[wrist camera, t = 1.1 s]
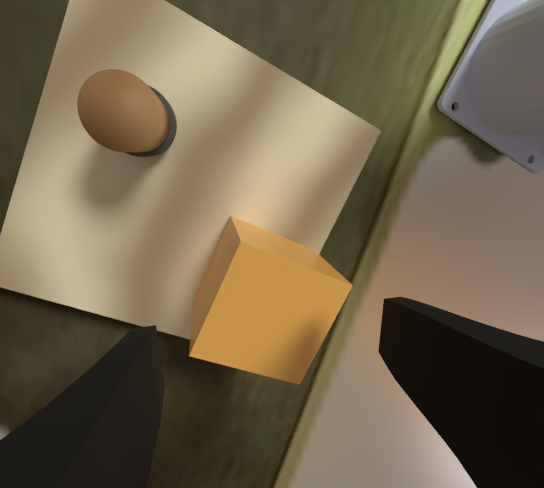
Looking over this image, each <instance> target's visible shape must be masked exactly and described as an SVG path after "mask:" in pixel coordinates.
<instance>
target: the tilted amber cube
mask: <svg viewBox="0 0 544 488" xmlns="http://www.w3.org/2000/svg"><path fill="white" fill-rule="evenodd" d="M352 286H353V285H352V284H351V283H350V282H349V281H347V280H346V279H345V278H344V277H343V276H342V275H341V274H340V273H339V272H338V271H336V270H335V269H334V268H333V267H332V266H331V265H330V264H329V263H328V262H327V261H325V260H324V259H323V258H322V257H321V256H320V255H319V254H318V253H317V252H316V251H314V250H313V249H310V248H308V247H305V246H303V245H301V244H298V243H296V242H293V241H291V240H289V239H286V238H284V237H281V236H279V235H277V234H274V233H272V232H269V231H267V230H265V229H262V228H260V227H257V226H255V225H253V224H250V223H248V222H246V221H243V220H241V219H238V218H236V217H234V216H230V218H229V220H228V223H227V225H226V227H225V229H224V232H223V234H222V236H221V239H220V241H219V243H218V245H217V248H216V250H215V252H214V255H213V257H212V259H211V261H210V264H209V266H208V268H207V271H206V273H205V275H204V277H203V280H202V282H201V284H200V287H199V289H198V291H197V293H196V296H195V298H194V301H193V314H192V326H191V338H190V351H189V356H190V357H194V358H198V359H202V360H206V361H210V362H214V363H218V364H221V365H225V366H229V367H233V368H237V369H241V370H245V371H249V372H252V373H256V374H260V375H264V376H268V377H272V378H276V379H279V380H283V381H287V382H291V383H295V384H299V385H300V383H301V381H302V379H303V377H304V376H305V374H306V372H307V370H308V368H309V366H310V364H311V363H312V361H313V359H314V357H315V355H316V353H317V351H318V350H319V348H320V346H321V344H322V342H323V340H324V338H325V337H326V335H327V333H328V331H329V329H330V327H331V325H332V324H333V322H334V320H335V318H336V316H337V314H338V312H339V311H340V309H341V307H342V305H343V303H344V301H345V299H346V298H347V296H348V294H349V292H350V290H351V288H352Z"/></svg>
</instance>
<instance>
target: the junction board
mask: <svg viewBox="0 0 544 488" xmlns="http://www.w3.org/2000/svg"><path fill="white" fill-rule="evenodd" d="M380 133H381V130H379V129H378V128H376V127H374V126H373V125H371V124H369V123H368V122H366V121H364V120H363V119H361V118H359V117H358V116H356V115H354V114H353V113H351V112H349V111H348V110H346V109H344V108H343V107H341V106H339V105H338V104H336V103H334V102H333V101H331V100H329V99H328V98H326V97H324V96H323V95H321V94H319V93H318V92H316V91H314V90H313V89H311V88H309V87H308V86H306V85H304V84H303V83H301V82H299V81H298V80H296V79H294V78H293V77H291V76H289V75H288V74H286V73H284V72H283V71H281V70H279V69H278V68H276V67H274V66H273V65H271V64H269V63H268V62H266V61H264V60H263V59H261V58H260V57H258V56H256V55H255V54H253V53H251V52H250V51H248V50H246V49H245V48H243V47H241V46H240V45H238V44H236V43H235V42H233V41H231V40H230V39H228V38H226V37H225V36H223V35H221V34H220V33H218V32H216V31H215V30H213V29H211V28H210V27H208V26H206V25H205V24H203V23H201V22H200V21H198V20H196V19H195V18H193V17H191V16H190V15H188V14H186V13H185V12H183V11H181V10H180V9H178V8H176V7H175V6H173V5H171V4H170V3H168V2H166V1H165V0H70V1H69V4H68V8H67V11H66V14H65V18H64V21H63V25H62V28H61V31H60V35H59V38H58V42H57V45H56V48H55V52H54V55H53V58H52V62H51V65H50V69H49V72H48V75H47V79H46V82H45V86H44V89H43V92H42V96H41V99H40V103H39V106H38V109H37V113H36V116H35V119H34V123H33V126H32V130H31V133H30V136H29V140H28V143H27V147H26V150H25V153H24V157H23V160H22V164H21V167H20V170H19V174H18V177H17V181H16V184H15V187H14V191H13V194H12V197H11V201H10V204H9V208H8V211H7V214H6V218H5V221H4V225H3V228H2V231H1V235H0V287H1V288H5V289H8V290H12V291H16V292H19V293H23V294H26V295H30V296H34V297H37V298H41V299H45V300H48V301H52V302H56V303H59V304H63V305H66V306H70V307H74V308H77V309H81V310H85V311H88V312H92V313H95V314H99V315H103V316H106V317H110V318H114V319H117V320H121V321H125V322H128V323H132V324H135V325H139V326H143V327H145V326H154V325H156V327H157V331H161V332H164V333H168V334H172V335H175V336H179V337H183V338H186V339H190V338H191V326H192V314H193V301H194V298H195V296H196V293H197V291H198V289H199V287H200V284H201V282H202V280H203V277H204V275H205V273H206V271H207V268H208V266H209V264H210V261H211V259H212V257H213V255H214V252H215V250H216V248H217V245H218V243H219V241H220V239H221V236H222V234H223V232H224V229H225V227H226V225H227V223H228V220H229V218H230V216H234V217H236V218H238V219H241V220H243V221H246V222H248V223H250V224H253V225H255V226H257V227H260V228H262V229H265V230H267V231H269V232H272V233H274V234H277V235H279V236H281V237H284V238H286V239H289V240H291V241H293V242H296V243H298V244H301V245H303V246H305V247H308V248H310V249H313V250H314V251H316V252H317V253H318V254H319V253H320V251H321V249H322V247H323V245H324V243H325V241H326V239H327V237H328V235H329V233H330V231H331V229H332V228H333V226H334V224H335V222H336V220H337V218H338V216H339V214H340V212H341V210H342V208H343V206H344V204H345V202H346V200H347V198H348V196H349V194H350V192H351V190H352V188H353V186H354V184H355V182H356V180H357V178H358V176H359V174H360V172H361V170H362V168H363V166H364V164H365V162H366V160H367V158H368V156H369V154H370V152H371V150H372V148H373V146H374V144H375V142H376V141H377V139H378V137H379V135H380Z"/></svg>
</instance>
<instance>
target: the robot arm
mask: <svg viewBox="0 0 544 488" xmlns="http://www.w3.org/2000/svg"><path fill="white" fill-rule="evenodd" d="M452 104H454V110H453V111H452V108H451V106H452ZM437 106H438V109H439V110H440V111H441V112H442V113H443V114H445V115H446V116H448V117H449V118H451V119H452V120H454V121H455V122H457V123H458V124H460V125H461V126H463V127H464V128H466V129H467V130H469V131H470V132H472V133H473V134H475V135H476V136H478V137H479V138H480V139H482V140H483V141H485V142H486V143H488V144H489V145H491V146H492V147H494V148H495V149H497V150H498V151H500V152H501V153H503V154H504V155H506V156H507V157H509V158H510V159H512V160H513V161H515V162H516V163H518V164H519V165H521V166H522V167H524V168H525V169H526V170H528V171H529V172H531V173H534V174H538V173H541V172H543V171H544V0H491V1H490V3H489V5H488V7H487V9H486V11H485V13H484V15H483V16H482V18H481V20H480V22H479V24H478V26H477V28H476V30H475V32H474V33H473V35H472V37H471V39H470V41H469V43H468V45H467V47H466V49H465V50H464V52H463V54H462V56H461V58H460V60H459V62H458V64H457V66H456V67H455V69H454V71H453V73H452V75H451V77H450V79H449V81H448V83H447V84H446V86H445V88H444V90H443V92H442V94H441V96H440V98H439V100H438V103H437ZM528 158H529V159H528ZM379 353H380V355H381V357H382V359H383V360H384V362H385V364H386V365H387V367H388V369H389V370H390V372H391V374H392V375H393V377H394V378H395V380H396V381H397V382H398V384H399V385H400V386H401V387H402V389H403V390H404V391H405V393H406V394H407V395H408V396H409V397H410V399H411V400H412V401H413V403H414V404H415V405H416V406H417V407H418V409H419V410H420V411H421V413H422V414H423V415H424V416H425V418H426V419H427V420H428V421H429V422H430V424H431V425H432V426H433V427H434V429H435V430H436V431H437V432H438V434H439V435H440V436H441V437H442V439H443V440H444V441H445V442H446V444H447V445H448V446H449V448H450V449H451V450H452V451H453V453H454V454H455V456H456V457H457V458H458V460H459V461H460V462H461V464H462V466H463V467H464V469H465V470H466V472H467V473H468V475H469V476H470V478H471V479H472V480H473V482H474V484H475V485H476V487H477V488H544V342H543V341H539V340H535V339H531V338H528V337H524V336H521V335H517V334H514V333H511V332H508V331H505V330H501V329H498V328H495V327H492V326H489V325H486V324H483V323H479V322H477V321H474V320H471V319H468V318H465V317H462V316H459V315H456V314H454V313H451V312H448V311H445V310H442V309H439V308H436V307H433V306H430V305H428V304H425V303H421V302H418V301H415V300H412V299H408V298H403V297H396V298H387V299H384V304H383V315H382V324H381V333H380V343H379ZM163 394H164V377H163V370H162V363H161V356H160V349H159V341H158V334H157V327H156V325H154V326H145V327H136V328H133V329H132V330H131V331H130V332H128V333H127V334H126V335H125V336H124V337H123V338H122V339H121V340H120V341H119V342H118V343H117V344H116V345H115V346H114V347H113V348H112V349H111V350H109V351H108V352H107V353H106V354H105V355H104V356H103V357H102V358H101V359H100V360H99V361H98V362H97V363H96V364H94V365H93V366H92V367H91V368H90V369H89V370H88V371H87V372H86V373H85V374H83V375H82V376H81V377H80V378H79V379H78V380H76V381H75V382H74V383H73V384H72V385H71V386H69V387H68V388H67V389H66V390H65V391H63V392H62V393H61V394H60V395H59V396H58V397H56V398H55V399H54V400H53V401H52V402H50V403H49V404H48V405H47V406H45V407H44V408H43V409H42V410H40V411H39V412H38V413H37V414H35V415H34V416H33V417H31V418H30V419H29V420H27V421H26V422H25V423H23V424H22V425H21V426H19V427H18V428H16V429H15V430H14V431H12V432H11V433H10V434H8V435H7V436H6V437H4V438H3V439H1V440H0V488H146V484H147V480H148V476H149V471H150V467H151V462H152V458H153V453H154V449H155V444H156V440H157V435H158V430H159V426H160V421H161V414H162V405H163Z"/></svg>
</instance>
